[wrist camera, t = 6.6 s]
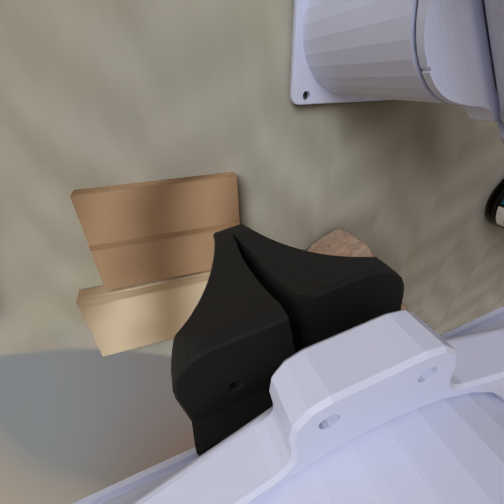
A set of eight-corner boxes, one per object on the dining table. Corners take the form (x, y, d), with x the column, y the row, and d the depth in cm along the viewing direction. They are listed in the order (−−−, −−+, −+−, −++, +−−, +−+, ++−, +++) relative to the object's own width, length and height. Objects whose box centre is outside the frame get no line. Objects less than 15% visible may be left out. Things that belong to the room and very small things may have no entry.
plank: (232, 171, 20) (237, 176, 19) (237, 255, 23) (242, 263, 22) (74, 189, 17) (69, 196, 16) (108, 281, 21) (106, 291, 20)
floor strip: (249, 256, 24) (254, 265, 23) (250, 308, 27) (255, 318, 26) (79, 290, 20) (76, 302, 19) (104, 345, 24) (102, 358, 22)
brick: (392, 301, 34) (423, 328, 31) (339, 343, 36) (363, 375, 32) (333, 217, 25) (367, 241, 21) (264, 278, 26) (285, 312, 22)
